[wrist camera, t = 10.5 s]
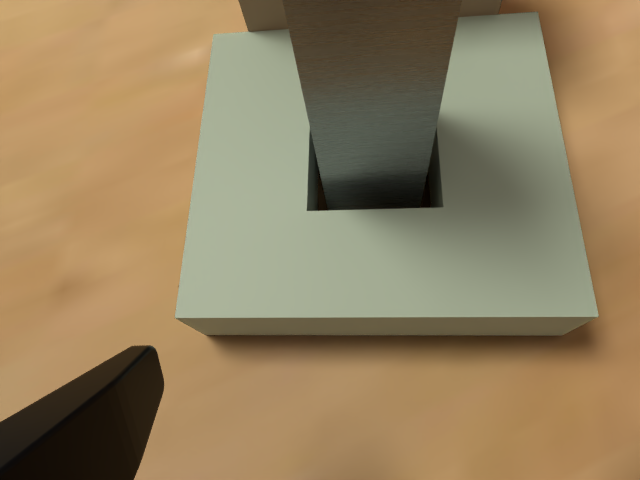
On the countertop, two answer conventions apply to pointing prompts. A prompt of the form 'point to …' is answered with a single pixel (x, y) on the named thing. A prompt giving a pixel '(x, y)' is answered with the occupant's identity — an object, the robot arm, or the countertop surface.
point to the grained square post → (372, 93)
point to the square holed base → (385, 224)
